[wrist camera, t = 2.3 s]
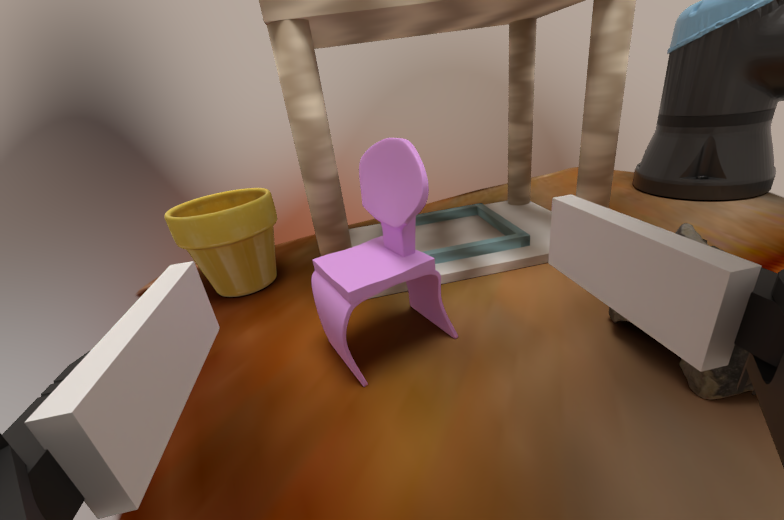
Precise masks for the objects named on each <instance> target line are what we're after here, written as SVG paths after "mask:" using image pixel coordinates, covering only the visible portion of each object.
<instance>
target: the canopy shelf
mask: <svg viewBox="0 0 784 520" xmlns="http://www.w3.org/2000/svg"><path fill="white" fill-rule="evenodd" d="M582 1H585V0H259V3H260V7H261V11H262V15H263V20H264V22H265V24H266V25H267V28H268V32H269V37H270V41H271V45H272V49H273V54H274V58H275V62H276V66H277V71H278V75H279V79H280V84H281V87H282V92H283V96H284V101H285V105H286V109H287V113H288V118H289V122H290V126H291V131H292V135H293V139H294V144H295V148H296V152H297V156H298V161H299V165H300V169H301V174H302V178H303V182H304V186H305V190H306V195H307V199H308V203H309V207H310V212H311V216H312V221H313V225H314V229H315V234H316V238H317V242H318V246H319V251H320V255H321V256H324V255H327V254H331V253H335V252H339V251H342V250H346V249H349V248H352V247H355V246H358V245H360V244H362V243H365V242H367V241H369V240H372V239H374V238H377V237H380V236H383V231H382V226H381V224H376V225H370V226H364V227H359V228H353V229H348V224H347V219H346V213H345V208H344V203H343V197H342V192H341V187H340V182H339V176H338V171H337V166H336V161H335V155H334V151H333V145H332V140H331V134H330V129H329V124H328V119H327V114H326V109H325V103H324V98H323V93H322V88H321V82H320V77H319V72H318V67H317V61H316V56H315V51H314V49H316V48H317V49H318V48H325V47H333V46H341V45H349V44H357V43H364V42H373V41H380V40H389V39H396V38H404V37H412V36H420V35H428V34H436V33H443V32H451V31H459V30H467V29H475V28H483V27H490V26H498V25H506V24H509V113H508V117H509V118H508V122H509V123H508V201H503V202H497V203H492V204H486V205H484V204H482V203H479V204H473V205H468V206H462V207H457V208H451V209H446V210H440V211H434V212H429V213H423V214H418V215H416V221H415V250H418V251H420V252H423V253H425V254H427V255H429V256H431V257H433V258H435V270H437V271H438V272H439V273H440V275H441V284H444V283H449V282H454V281H459V280H464V279H469V278H474V277H479V276H484V275H489V274H494V273H499V272H503V271H508V270H513V269H518V268H523V267H528V266H533V265H538V264H543V263H548V260H549V245H550V229H551V214H552V212H551V211H549V210H547V209H545V208H543V207H541V206H539V205H537V204H535V203H533V202H531V201H530V188H531V158H532V131H533V102H534V75H535V45H536V19H537V18H539V17H542V16H545V15H547V14H550V13H553V12H555V11H558V10H561V9H563V8H566V7H569V6H571V5H574V4H577V3H579V2H582ZM635 4H636V0H594V3H593V14H592V26H591V36H590V48H589V58H588V69H587V81H586V93H585V103H584V114H583V125H582V136H581V147H580V159H579V169H578V180H577V191H576V197H579V198H582V199H584V200H587V201H590V202H592V203H595V204H598V205H600V206H603V207H606V208H608V209H609V201H610V194H611V186H612V179H613V171H614V163H615V156H616V148H617V141H618V133H619V125H620V117H621V110H622V102H623V94H624V88H625V79H626V72H627V65H628V57H629V49H630V42H631V34H632V27H633V19H634V11H635ZM404 291H408V288H407V284H406V282H403V283H400V284H397V285H395V286H392V287H390V288H388V289H386V290H384V291H382V292H380V293H378V294H377V295H375V296H373V297H371V298H375V297H380V296H385V295H390V294H395V293H400V292H404ZM368 299H370V298H368Z"/></svg>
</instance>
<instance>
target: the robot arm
mask: <svg viewBox="0 0 784 520" xmlns="http://www.w3.org/2000/svg"><path fill="white" fill-rule="evenodd" d="M667 53H668V54H669V53H670V55H669V60H668V66H667V71H666V77H665V82H664V87H663V94H662V99H661V104H660V110H659V116H658V121H657V126H656V130H655V133H654V135H653V137H652V139H651V141H650V143H649V145H648V147H647V149H646V151H645V154H644V156H643V159H642V162H641V163H639V164H638V165H637V167H636V169H635V172H634V179H633V185H634V186H635V187H636V188H637V189H639V190H641V191H644V192H647V193H651V194H655V195H660V196H666V197H673V198H682V199H695V200H729V199H741V198H748V197H754V196H758V195H762V194H764V193H767V192H768V191H769V190H770V189H771V186H772V184H773V180H774V177H775V173H776V169H775V167H774V156H773V145H772V137H771V122H772V118H773V115H774V112H775V109H776V106H777V103H778V102H779V101H784V0H702V1H699V2H697V3H695V4H693V5H691V6H689V7H688V8H687V9H685V10H684V11H683V12H682V13H681V15H680V16H679V18H678V19H677V21H676V24H675V28H674V32H673V37H672V41H671V45H670V48H669V49H668V52H667ZM548 263H549V264H550V265H552V266H553V267H554V268H556V269H557V270H559V271H560V272H561V273H563V274H564V275H566V276H567V277H568V278H570V279H571V280H573V281H574V282H575V283H577V284H578V285H580V286H581V287H582V288H584V289H585V290H587V291H588V292H589V293H591V294H592V295H594V296H595V297H596V298H598V299H599V300H601V301H602V302H603V303H605V304H606V305H608V306H609V307H610V308H612V309H613V310H615V311H616V312H617V313H619V314H620V315H622V316H623V317H624V318H626V319H627V320H629V321H630V322H631V323H633V324H634V325H636V326H637V327H638V328H640V329H641V330H643V331H644V332H645V333H647V334H648V335H650V336H651V337H652V338H654V339H655V340H657V341H658V342H659V343H661V344H662V345H664V346H665V347H666V348H668V349H669V350H671V351H672V352H674V353H675V354H676V355H678V356H679V357H681V358H682V359H683V360H685V361H686V362H688V363H689V364H690V365H692V366H693V367H695V368H696V369H697V370H699V371H700V372H702V371H706V370H710V369H714V368H718V367H722V366H727V365H728V363H729V361H730V358H731V355H732V352H733V349H734V346H735V344H736V345H738V346H739V347H741V348H743V349H744V350H746V351H748V352H749V355H748V357H747V360H746V363H745V366H744V368H743V371H742V374H741V376H740V379H739V382H738V385H737V391H739V392H743V391H744V389H745V386H747V385H749V384H752V385H753V388H754V389H753V391H752V395H756V396H757V398H758V401H759V404H760V406H761V409H762V412H763V414H764V417H765V420H766V422H767V425H768V428H769V430H770V433H771V436H772V438H773V441H774V444H775V446H776V449H777V452H778V454H779V457H780V459H781V462H782V465H783V467H784V269H783V270H781V271H780V272H778V274H777V273H774V272H772V271H769V270H767V269H764V268H761V267H762V266H761V265H758V264H756V263H753V262H750V261H748V260H745V259H742V258H740V257H737V256H734V255H732V254H729V253H726V252H724V251H721V250H718V249H716V248H713V247H710V246H708V245H705V244H702V243H700V242H697V241H694V240H692V239H689V238H686V237H683V236H681V235H678V234H675V233H673V232H670V231H667V230H665V229H662V228H659V227H657V226H654V225H651V224H649V223H646V222H643V221H641V220H638V219H635V218H633V217H630V216H627V215H625V214H622V213H619V212H617V211H614V210H611V209H608V208H606V207H603V206H600V205H598V204H595V203H592V202H590V201H587V200H584V199H582V198H579V197H576V196H574V195H566V196H560V197H555V198H553V199H552V214H551V229H550V245H549V260H548ZM219 328H220V327H219V325H218V322H217V320H216V317H215V315H214V312H213V309H212V307H211V304H210V302H209V299H208V297H207V294H206V291H205V289H204V286H203V284H202V281H201V279H200V276H199V274H198V271H197V268H196V266H195V263H194V262H193V261H192V262H186V263H181V264H175V265H170V266H169V267H168V268H167V269H166V270H165V272H163V274H162V275H161V276H160V277H159V278H158V279H157V280H156V281H155V282H154V283H153V284H152V285H151V286H150V288H149V289H148V290H147V291H146V292H145V293H144V294H143V295H142V296H141V297H140V298H139V299H138V301H137V302H136V303H135V304H134V305H133V306H132V307H131V308H130V309H129V310H128V311H127V312H126V313H125V315H124V316H123V317H122V318H121V319H120V320H119V321H118V322H117V323H116V324H115V325H114V326H113V327H112V328H111V330H110V331H109V332H108V333H107V334H106V335H105V336H104V337H103V338H102V339H101V340H100V342H99V343H98V344H97V345H96V346H95V347H94V348H93V349H92V350H91V351H89V352H88V353H86V354H84V355H83V356H82V357H80V358H79V359H77V360H76V361H75V362H73V363H72V364H70V365H69V366H68V367H67V368H66V369H65V370H64V371H63V372H62V373H61V374H60V375H59V376H58V377H57V378H56V379H55V380H54V384H51V385H49V387H48V388H47V389H46V390H45V391H44V392H43V393H42V394H41V397H39V398H37V399H36V400H35V401H34V402H33V403H32V404H31V405H30V406H29V407H28V408H27V410H25V412H24V413H23V414H22V415H21V416H20V417H19V418H18V419H17V420H16V421H15V422H14V423H13V424H12V425H11V426H10V427H9V428H8V430H6V431H5V432H4V433H3V434H2V435H1V434H0V520H73V518H74V517H75V515H76V513H77V512H78V510H79V508H80V507H81V505H82V503H83V501H85V503H86V504H87V505H88V507H89V508H90V509H91V511H92V512H93V513H94V515H95V516H96V517H97V518H98V519H100V518H104V517H108V516H112V515H116V514H120V513H124V512H129V511H133V510H137V509H138V507H139V505H140V503H141V500H142V498H143V496H144V494H145V492H146V489H147V487H148V485H149V483H150V481H151V478H152V476H153V474H154V472H155V470H156V467H157V465H158V463H159V461H160V459H161V456H162V454H163V452H164V450H165V447H166V445H167V443H168V441H169V439H170V436H171V434H172V432H173V430H174V428H175V425H176V423H177V421H178V419H179V417H180V414H181V412H182V410H183V408H184V406H185V403H186V401H187V399H188V397H189V394H190V392H191V390H192V388H193V386H194V383H195V381H196V379H197V377H198V375H199V372H200V370H201V368H202V366H203V364H204V361H205V359H206V357H207V355H208V353H209V350H210V348H211V346H212V344H213V342H214V339H215V337H216V335H217V333H218V330H219Z"/></svg>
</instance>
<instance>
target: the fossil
mask: <svg viewBox="0 0 784 520" xmlns="http://www.w3.org/2000/svg"><path fill="white" fill-rule="evenodd" d="M675 234H678V235H681V236H683V237H686V238H689V239H692V240H694V241H697V242H700V243H702V244H705V245H708V244H707V240H704V239H702V238H701V236H700V235H699V234H698V233H697V232H696V231H695V230H694V228H693V226H692V225H690V224H687V223H685V224H682V225H681V226H680V227H679V229H678V230H677V232H676V233H675ZM708 246H709V245H708ZM710 247H713V248H716V249H718V248H717V247H715V246H710ZM718 250H720V249H718ZM721 251H723V250H721ZM724 252H725V251H724ZM609 315H610V318H611V319H612V320H613V321H614V323H618V322H622V321H629V320H627V319H626V318H624V317H623V316H622V315H620V314H619V313H617V312H616V311H615V310H613V309H612V308H610V307H609ZM629 322H630V321H629ZM748 355H749V352H748V351H746V350H744V349H743V348H741V347H739V346H738V345H736V344H735V346H734V349H733V352H732V355H731V358H730V361H729V363H728V365H727V366H722V367H718V368H714V369H710V370H706V371H702V372H700V371H699V370H697V369H696V368H695V367H693V366H692V365H690V364H689V363H688V362H686V361H685V360H683V359H682V360H681V362H680V364H679V365H680V367H681V368H682V370H683V373H684V375H685V376H686V377H687V380H688V384H689V387H690V388H691V390H692V391H693V392H694V393H695V394H697V395H698V396H700V397H701V398H705V399H720V398H724V397H729V396H733V395H737V394H740V393H742V392H739V391H737V385H738V382H739V379H740V376H741V374H742V371H743V368H744V366H745V363H746V360H747V357H748ZM753 389H754V388H753V385H752V384H749V385H747V386H745V389H744V391H743V392H746V391H753Z"/></svg>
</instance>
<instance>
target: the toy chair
mask: <svg viewBox="0 0 784 520" xmlns="http://www.w3.org/2000/svg"><path fill="white" fill-rule="evenodd" d="M359 177H360V186H361V194H362V204H363V207H365V209H366V210H367V211H368V212H369V213H370V214H371V215H372V216H373V217H374V218H375V219H377V220H378V221H380V222H381V226H382V231H383V236H380V237H377V238H374V239H372V240H369V241H367V242H365V243H362V244H360V245H358V246H355V247H352V248H349V249H346V250H342V251H339V252H335V253H331V254H327V255H324V256H321V257H318V258H315V259H312V260H313V264H314V268H315V271H314V273H313V275H312V280H311V281H312V290H313V295H314V300H315V304H316V307H317V311H318V314H319V317H320V320H321V323H322V326H323V328H324V331H325V333H326V335H327V337H328V340H329V342H330V343H331V345H332V346H333V347H334V349H335V350H336V351H337V353H338V354H339V355H340V357H341V358H342V359H343V360H344V362H345V363H346V364H347V366H348V367H349V368H350V370H351V371H352V372H353V374H354V375H355V376H356V378H357V379H358V380H359V381H360V383H361V384H362V385H363V387H365V386H367V385H368V383H367V381H366V380H365V378H364V377H363V375H362V373H361V372H360V370H359V368H358V367H357V365H356V363H355V361H354V359H353V358H352V356H351V353H350V351H349V349H348V345H347V341H346V330H347V325H348V321H349V317H350V314H351V312H352V311H353V309H354V308H355V307H356V306H357V305H358V304H360V303H361V302H363V301H364V300H366V299H368V298H371V297H373V296H375V295H377V294H378V293H380V292H382V291H384V290H386V289H388V288H390V287H392V286H395V285H397V284H400V283H403V282H406V284H407V288H408V292H409V299H410V306H411V307H412V308H414V309H415V310H416V311H418V312H419V313H420V314H422V315H423V316H424V317H426V318H427V319H428V320H430V321H431V322H433V323H434V324H435V325H437V326H438V327H439V328H441V329H442V330H443V331H445V332H446V333H447V334H449V335H450V336H451V337H453V338H454V339H456V338H458V335H457V333H456V331H455V329H454V327H453V326H452V324H451V322H450V320H449V318H448V316H447V314H446V311H445V309H444V306H443V303H442V299H441V275H440V273H439V272H438V271H437V270H435V258H433V257H431V256H429V255H427V254H425V253H423V252H420V251H418V250H415V221H416V215H417V214H418V213H420V211H421V210H422V209H423V208H424V206H425V204H426V202H427V198H428V191H429V189H428V179H427V175H426V171H425V168H424V165H423V163H422V160H421V158H420V156H419V154H418V153H417V150H416V149H415V147H414V146H413V145H412V143H411V142H410V141H408V140H406V139H402V138H387V139H383V140H381V141H379V142H377V143H375V144H374V145H373V146H371V147H370V148H369V149H368V150H367V151H366V152H365V153H364V155H363V156H362V158H361V161H360V166H359Z"/></svg>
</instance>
